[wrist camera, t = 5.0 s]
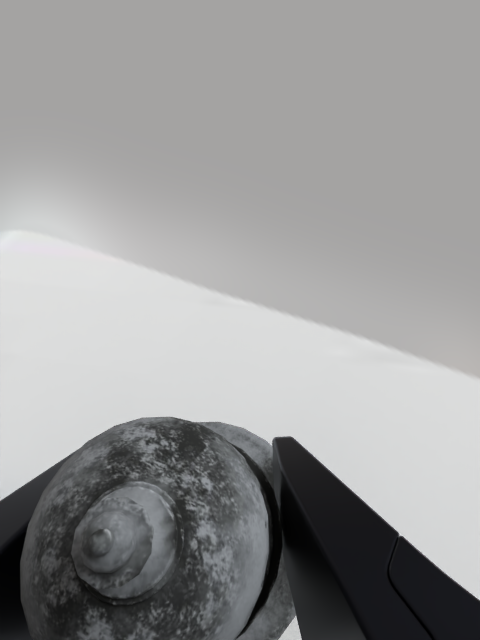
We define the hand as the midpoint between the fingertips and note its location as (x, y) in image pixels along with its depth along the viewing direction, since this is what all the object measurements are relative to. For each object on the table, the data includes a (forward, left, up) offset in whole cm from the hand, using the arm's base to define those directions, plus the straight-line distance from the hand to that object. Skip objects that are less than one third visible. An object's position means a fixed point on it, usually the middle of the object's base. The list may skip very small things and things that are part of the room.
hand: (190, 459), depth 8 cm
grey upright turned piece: (-1, -1, -7) cm, 7 cm away
